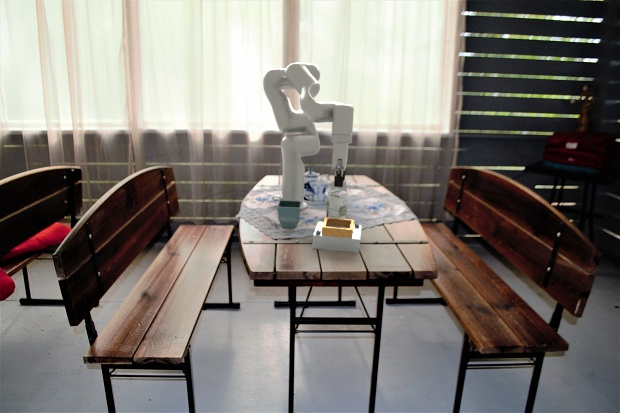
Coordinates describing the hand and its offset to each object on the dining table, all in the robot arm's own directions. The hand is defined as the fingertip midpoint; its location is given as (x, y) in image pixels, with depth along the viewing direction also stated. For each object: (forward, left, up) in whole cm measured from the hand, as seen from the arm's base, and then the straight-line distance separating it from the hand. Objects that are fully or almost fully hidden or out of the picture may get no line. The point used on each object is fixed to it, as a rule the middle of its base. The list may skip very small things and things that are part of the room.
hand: (339, 183), depth 170 cm
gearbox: (+2, -16, -18) cm, 24 cm away
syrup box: (0, 0, -18) cm, 18 cm away
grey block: (-2, +33, -18) cm, 38 cm away
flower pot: (-18, -3, -18) cm, 26 cm away
